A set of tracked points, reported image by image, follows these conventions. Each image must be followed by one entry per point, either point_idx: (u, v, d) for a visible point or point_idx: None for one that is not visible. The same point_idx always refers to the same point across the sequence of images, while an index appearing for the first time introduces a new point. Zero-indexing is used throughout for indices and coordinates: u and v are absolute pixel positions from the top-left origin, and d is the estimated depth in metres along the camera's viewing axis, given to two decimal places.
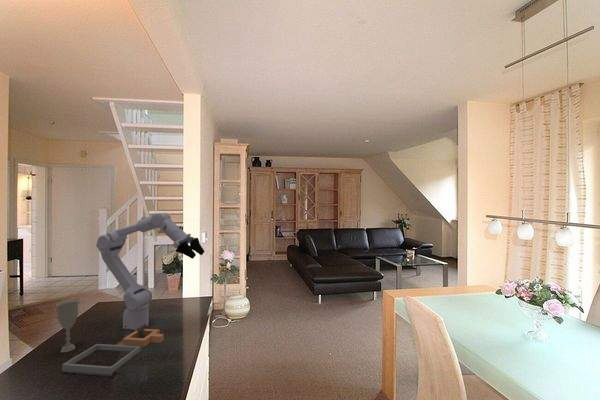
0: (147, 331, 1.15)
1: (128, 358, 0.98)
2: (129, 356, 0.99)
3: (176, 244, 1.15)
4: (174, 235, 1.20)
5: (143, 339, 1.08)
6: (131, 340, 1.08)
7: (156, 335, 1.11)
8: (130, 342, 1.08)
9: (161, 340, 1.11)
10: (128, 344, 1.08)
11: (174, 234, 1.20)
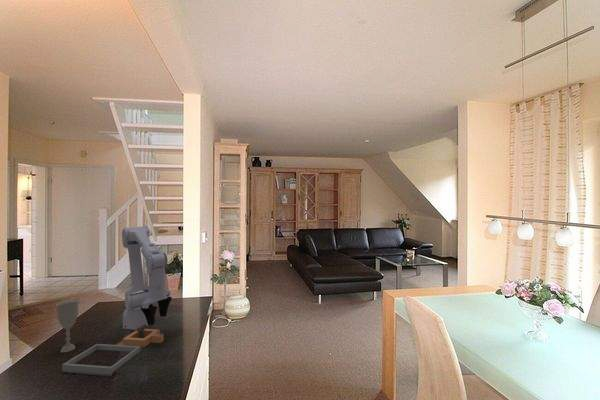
0: (147, 331, 1.15)
1: (128, 358, 0.98)
2: (129, 356, 0.99)
3: (145, 306, 1.04)
4: (153, 289, 1.08)
5: (143, 339, 1.08)
6: (131, 340, 1.08)
7: (156, 335, 1.11)
8: (130, 342, 1.08)
9: (161, 340, 1.11)
10: (128, 344, 1.08)
11: (154, 289, 1.08)
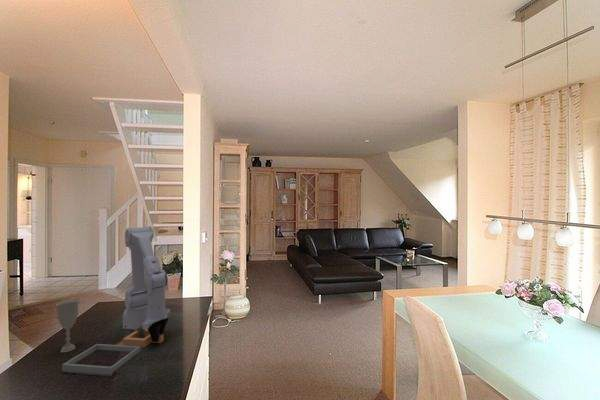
0: (147, 331, 1.15)
1: (128, 358, 0.98)
2: (129, 356, 0.99)
3: (145, 327, 1.04)
4: (153, 309, 1.08)
5: (143, 339, 1.08)
6: (131, 340, 1.08)
7: None
8: (130, 342, 1.08)
9: (161, 340, 1.11)
10: (128, 344, 1.08)
11: (154, 309, 1.08)
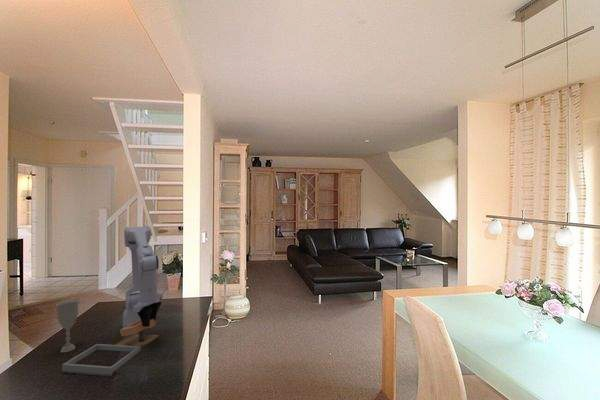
0: None
1: (128, 358, 0.98)
2: (129, 356, 0.99)
3: (136, 310, 1.01)
4: (144, 293, 1.06)
5: (133, 326, 1.06)
6: (125, 329, 1.08)
7: None
8: (125, 332, 1.08)
9: (151, 325, 1.07)
10: (124, 334, 1.08)
11: (145, 292, 1.06)
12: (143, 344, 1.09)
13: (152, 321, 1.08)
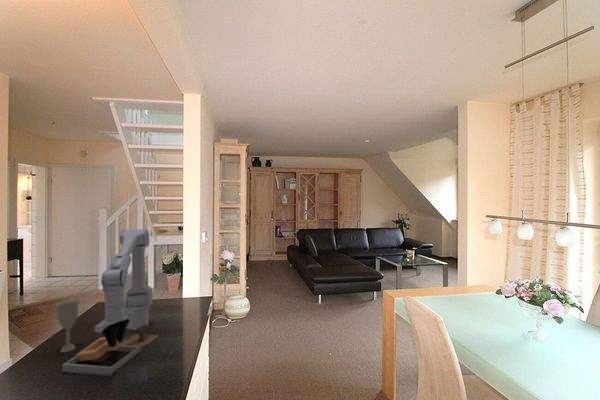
0: None
1: (128, 358, 0.98)
2: (129, 356, 0.99)
3: (98, 330, 0.91)
4: (109, 310, 0.95)
5: (94, 351, 0.96)
6: (83, 354, 0.97)
7: None
8: (84, 356, 0.97)
9: (116, 347, 0.98)
10: (83, 359, 0.97)
11: (110, 309, 0.95)
12: (143, 344, 1.09)
13: (116, 342, 0.98)
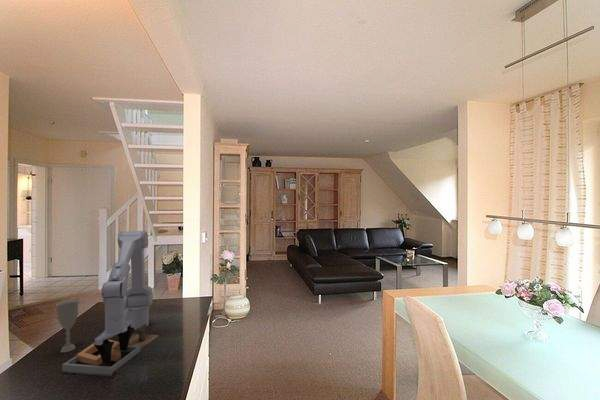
0: None
1: (128, 358, 0.98)
2: (129, 356, 0.99)
3: (98, 343, 0.91)
4: (109, 322, 0.95)
5: (95, 358, 0.96)
6: (84, 357, 0.96)
7: (112, 352, 0.98)
8: (84, 359, 0.97)
9: (117, 358, 0.98)
10: (82, 361, 0.97)
11: (110, 321, 0.95)
12: (143, 344, 1.09)
13: (118, 354, 0.98)
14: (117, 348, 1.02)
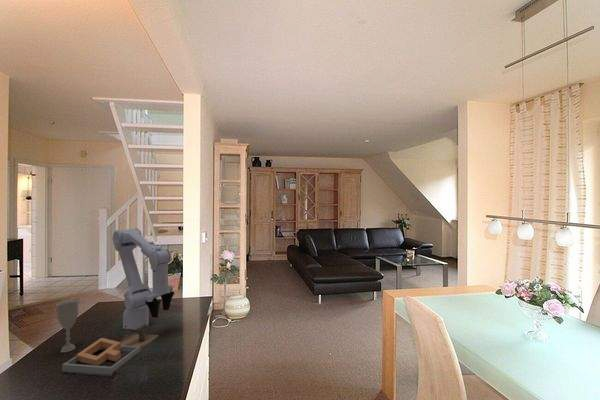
0: (107, 343, 1.03)
1: (128, 358, 0.98)
2: (129, 356, 0.99)
3: (149, 300, 1.10)
4: (157, 284, 1.15)
5: (95, 358, 0.96)
6: (84, 357, 0.96)
7: (112, 352, 0.98)
8: (84, 359, 0.97)
9: (117, 358, 0.98)
10: (82, 361, 0.97)
11: (157, 283, 1.15)
12: (143, 344, 1.09)
13: (118, 354, 0.98)
14: (117, 348, 1.02)
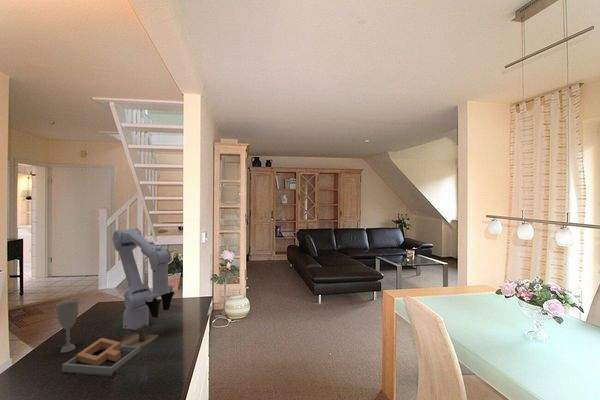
0: (107, 343, 1.03)
1: (128, 358, 0.98)
2: (129, 356, 0.99)
3: (149, 300, 1.10)
4: (157, 284, 1.15)
5: (95, 358, 0.96)
6: (84, 357, 0.96)
7: (112, 352, 0.98)
8: (84, 359, 0.97)
9: (117, 358, 0.98)
10: (82, 361, 0.97)
11: (157, 283, 1.15)
12: (143, 344, 1.09)
13: (118, 354, 0.98)
14: (117, 348, 1.02)
